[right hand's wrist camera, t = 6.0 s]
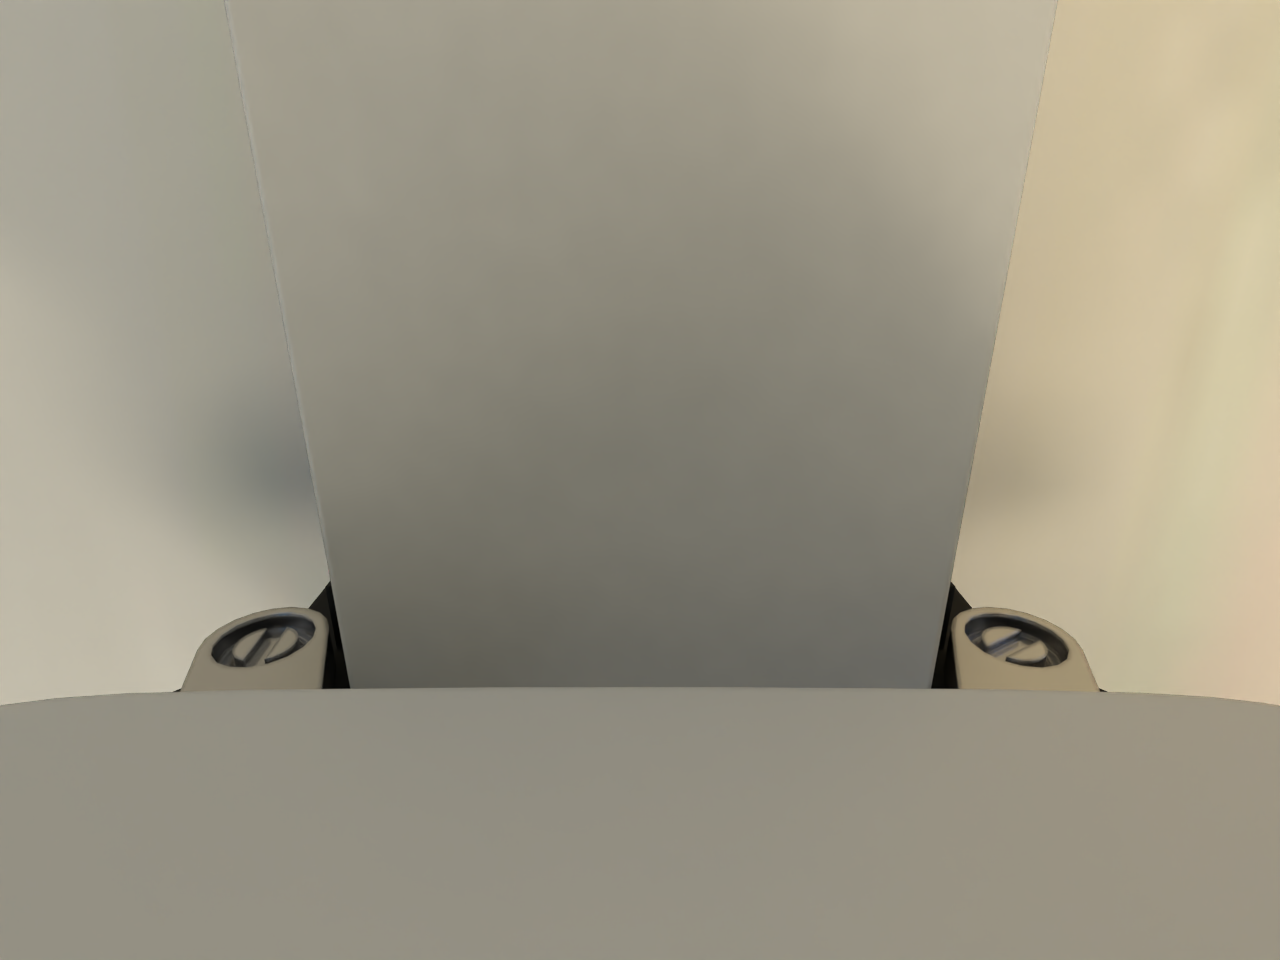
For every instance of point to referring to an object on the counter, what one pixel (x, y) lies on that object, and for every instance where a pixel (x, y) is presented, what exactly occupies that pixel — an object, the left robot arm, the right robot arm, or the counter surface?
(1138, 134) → the counter surface
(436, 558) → the beam
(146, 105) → the counter surface
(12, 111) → the counter surface
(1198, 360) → the counter surface
